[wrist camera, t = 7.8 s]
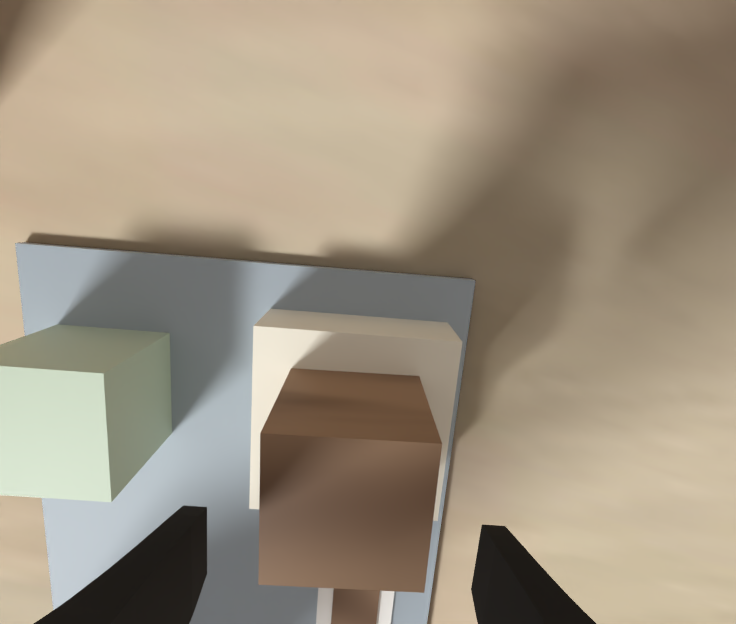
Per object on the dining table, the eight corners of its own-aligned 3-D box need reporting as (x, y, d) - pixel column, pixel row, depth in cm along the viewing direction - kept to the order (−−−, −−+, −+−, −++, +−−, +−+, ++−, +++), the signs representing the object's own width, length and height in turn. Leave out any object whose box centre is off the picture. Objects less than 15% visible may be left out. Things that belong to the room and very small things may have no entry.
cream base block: (427, 478, 21) (437, 521, 18) (265, 467, 21) (249, 508, 18) (447, 322, 19) (462, 341, 16) (270, 308, 19) (253, 325, 16)
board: (419, 659, 24) (421, 676, 23) (63, 639, 24) (52, 655, 23) (472, 278, 19) (477, 282, 18) (24, 242, 19) (7, 243, 18)
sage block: (172, 432, 20) (111, 502, 15) (66, 425, 20) (-29, 492, 15) (169, 332, 19) (103, 373, 14) (57, 324, 19) (-49, 362, 14)
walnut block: (407, 488, 18) (424, 592, 13) (287, 481, 18) (258, 584, 13) (419, 375, 17) (442, 443, 12) (290, 368, 16) (260, 433, 12)
